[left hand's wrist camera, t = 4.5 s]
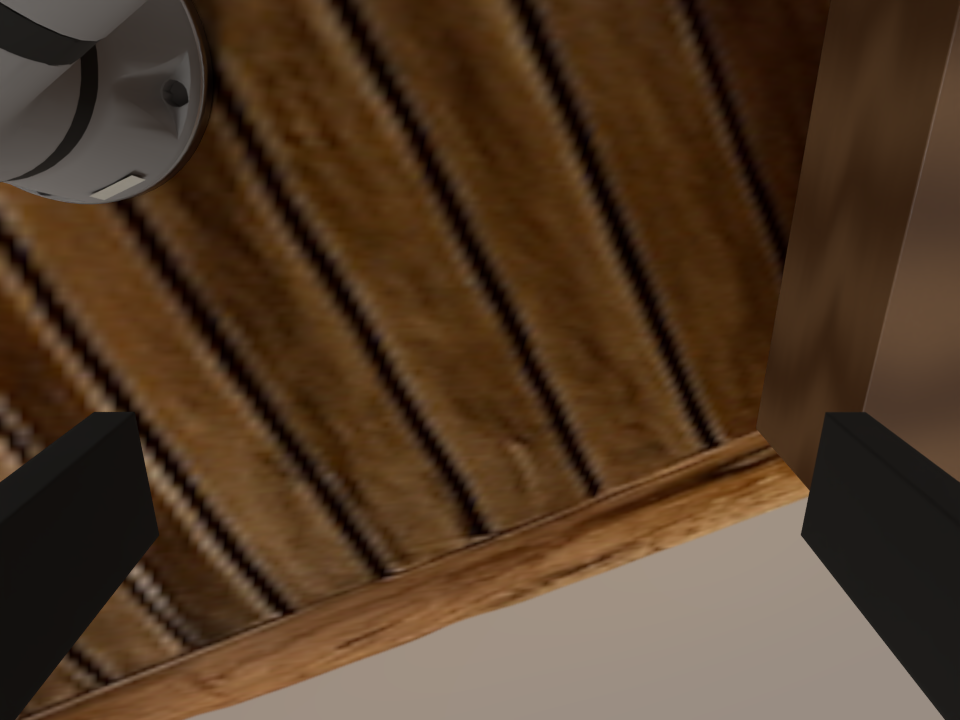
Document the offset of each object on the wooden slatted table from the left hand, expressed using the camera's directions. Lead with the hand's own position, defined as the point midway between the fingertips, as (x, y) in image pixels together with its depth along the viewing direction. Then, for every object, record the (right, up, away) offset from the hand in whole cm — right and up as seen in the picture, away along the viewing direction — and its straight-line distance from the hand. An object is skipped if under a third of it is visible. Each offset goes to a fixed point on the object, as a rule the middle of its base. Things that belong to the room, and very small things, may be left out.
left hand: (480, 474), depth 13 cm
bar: (+19, +11, +20) cm, 30 cm away
